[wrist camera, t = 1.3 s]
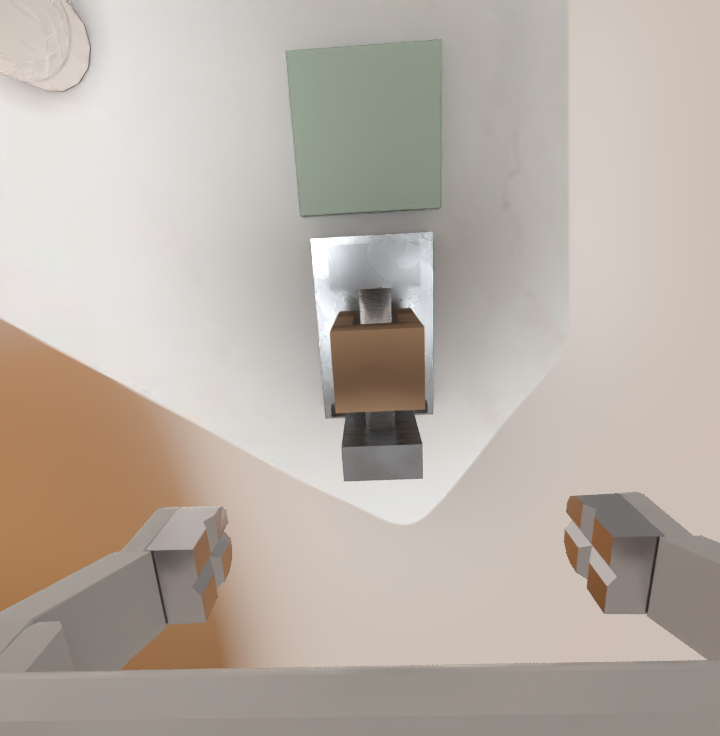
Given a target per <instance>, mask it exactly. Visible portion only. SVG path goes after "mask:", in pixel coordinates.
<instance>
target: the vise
mask: <svg viewBox="0 0 720 736" xmlns="http://www.w3.org/2000/svg"><path fill="white" fill-rule="evenodd" d="M310 240H311V252H312V263H313V275H314V287H315V299H316V311H317V323H318V335H319V347H320V359H321V370H322V382H323V394H324V406H325V418H326V419H328V418H346V419H345V426H344V433H343V440H342V461H343V474H344V481H367V480H396V479H423V459H422V441H421V438H420V434H419V430H418V427H417V423H416V419H415V416H414V415H425V414H433V232H419V233H401V234H384V235H366V236H349V237H331V238H314V239H310ZM395 308H411V309H412V310H413V312H414V313H415V315H416V316H417V317H418V319H419V320H420V322H421V323H422V324H423V326H424V327H425V409H424V410H400V411H376V412H352V413H336V410H335V397H334V384H333V371H332V358H331V345H330V330H331V328H332V326H333V324H334V322H335V320H336V317H337V315H338V313H339V311H355V316H356V324H375V323H395Z"/></svg>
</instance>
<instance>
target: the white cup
mask: <svg viewBox="0 0 720 736" xmlns="http://www.w3.org/2000/svg"><path fill="white" fill-rule="evenodd" d="M89 54H90V44H89V41H88V37H87V34H86V30H85V26H84V24H83V22H82V21H81V20H80V18H79V17H78V15H77V14H76V13H75V11H74V10H73V8H72V7H71V6H70V4H69V3H68V2H66V1H65V0H0V73H2V74H4V75H7V76H9V77H12V78H16V79H19V80H22V81H25V82H27V83H29V84H31V85H34V86H36V87H38V88H40V89H43V90H51V91H64V90H66V89H68V88H70V87H72V86H74V85H76V84H78V83H79V82H80V80H81V78H82V77H83V75H84V74H85V72H86V70H87V69H88V64H89Z"/></svg>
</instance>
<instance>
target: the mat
mask: <svg viewBox="0 0 720 736" xmlns="http://www.w3.org/2000/svg"><path fill="white" fill-rule="evenodd" d="M286 60H287V72H288V83H289V94H290V105H291V116H292V128H293V139H294V150H295V161H296V172H297V183H298V195H299V206H300V216H317V215H334V214H350V213H367V212H384V211H401V210H418V209H435V208H440V207H441V39H440V40H426V41H413V42H399V43H386V44H372V45H359V46H345V47H332V48H318V49H305V50H292V51H286Z"/></svg>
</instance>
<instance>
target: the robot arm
mask: <svg viewBox="0 0 720 736" xmlns="http://www.w3.org/2000/svg"><path fill="white" fill-rule="evenodd" d="M566 512H567V514H568V515H569V516H570V518H571V519H572V521H571V522H570V524H569V525H568V526H567V527H566V528H565V535H564V543H565V548H566V554H567V556H568V559H569V561H570V563H571V565H572V567H573V568H574V570H575V571H576V573H578V574H580V575H581V576H583V577H585V578H586V579H588V581H587V589H588V591H589V592H590V593H591V595H592V597H593V598H594V600H595V601H596V602H597V604H598V605H599V607H600V608H601V610H602V611H603V613H604V614H648V615H647V616H648V617H649V618H650V619H652V620H653V621H655V622H656V623H657V624H659V625H660V626H662V627H663V628H664V629H666V630H667V631H668V632H670V633H671V634H673V635H674V636H675V637H677V638H678V639H680V640H681V641H682V642H684V643H685V644H686V645H688V646H689V647H691V648H692V649H693V650H695V651H696V652H698V653H699V654H700V655H702V656H703V657H705V658H706V659H707V660H698V661H696V660H695V661H637V662H636V661H635V662H580V663H579V662H577V663H576V662H574V663H520V664H519V663H515V664H460V665H458V664H457V665H411V666H410V665H409V666H408V665H406V666H351V667H293V668H292V667H291V668H237V669H236V668H231V669H175V670H174V669H171V670H120V669H121V668H122V667H123V666H124V665H125V664H126V663H127V662H128V661H129V660H131V659H132V658H133V657H134V656H135V655H136V654H137V653H138V652H139V651H140V650H141V649H142V648H143V647H145V646H146V645H147V644H148V643H149V642H150V641H151V640H152V639H154V638H155V637H156V636H157V635H158V634H159V633H160V632H161V631H162V630H163V629H165V628H166V624H184V623H203V622H206V621H207V619H208V617H209V615H210V613H211V611H212V608H213V606H214V604H215V602H216V600H217V598H218V595H217V587H218V586H220V585H221V584H222V583H223V582H225V580H226V578H227V576H228V573H229V570H230V566H231V560H232V544H231V538H230V537H228V535H227V534H226V533H225V532H224V529H225V528H226V526H227V524H228V518H227V513H226V510H225V509H224V508H223V507H167V508H160V509H157V511H156V512H155V513H154V514H153V515H152V516H151V517H150V518H149V519H148V521H147V522H146V523H145V524H144V525H143V526H142V528H141V529H140V530H139V531H138V532H137V533H136V534H135V535H134V537H133V538H132V539H131V540H130V541H129V542H128V543H127V545H126V546H125V547H124V548H123V549H122V550H121V551H120V552H113V553H111V554H109V555H107V556H105V557H103V558H101V559H100V560H98V561H96V562H94V563H92V564H90V565H89V566H86V567H85V568H83V569H81V570H79V571H77V572H75V573H73V574H71V575H69V576H67V577H66V578H64V579H62V580H60V581H58V582H56V583H54V584H52V585H50V586H49V587H47V588H45V589H43V590H41V591H39V592H37V593H36V594H34V595H32V596H30V597H28V598H26V599H24V600H22V601H20V602H19V603H17V604H15V605H13V606H11V607H9V608H8V609H5V610H3V611H2V612H0V736H720V543H718V542H716V541H713V540H711V539H708V538H706V537H703V536H693V535H692V534H691V533H689V532H688V531H687V530H686V529H684V528H683V527H682V526H681V525H680V524H679V523H677V522H676V521H675V520H674V519H673V518H671V517H670V516H669V515H668V514H667V513H665V512H664V511H663V510H662V509H661V508H659V507H658V506H657V505H656V504H655V503H653V502H652V501H651V500H650V499H649V498H647V497H646V496H645V495H644V494H641V493H638V492H628V493H614V494H599V495H581V496H570V498H569V500H568V502H567V510H566Z"/></svg>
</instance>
